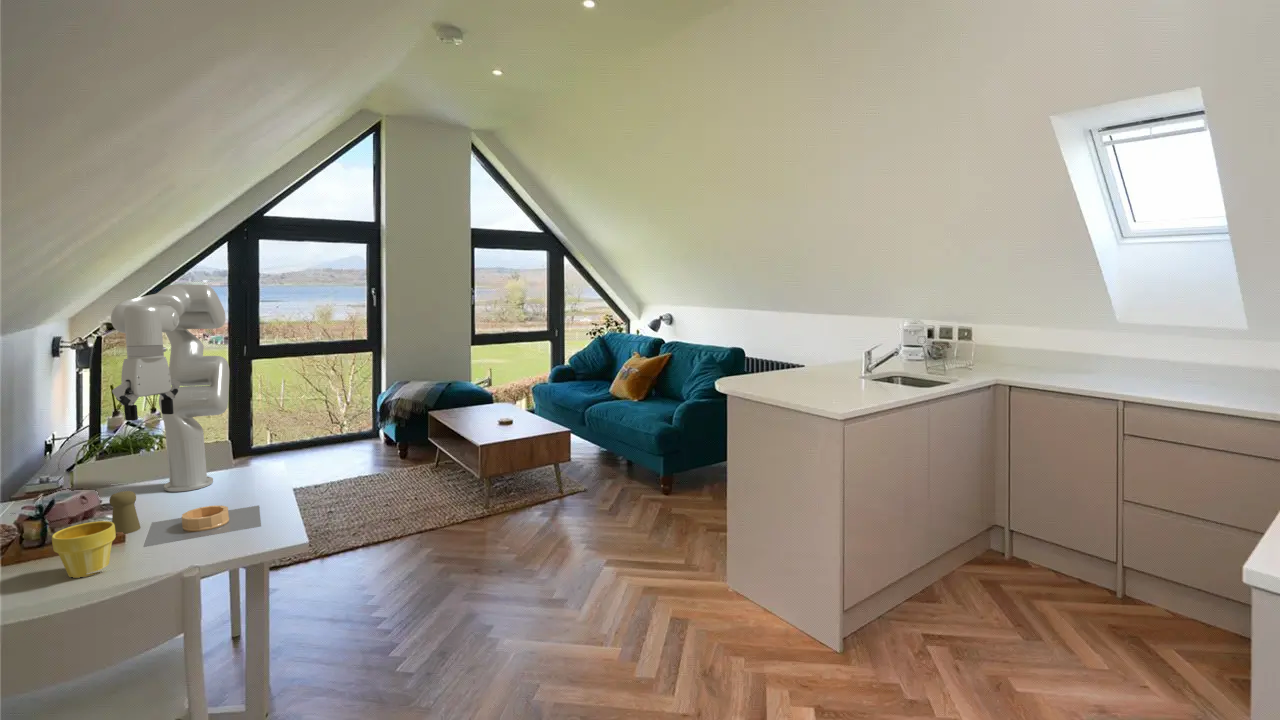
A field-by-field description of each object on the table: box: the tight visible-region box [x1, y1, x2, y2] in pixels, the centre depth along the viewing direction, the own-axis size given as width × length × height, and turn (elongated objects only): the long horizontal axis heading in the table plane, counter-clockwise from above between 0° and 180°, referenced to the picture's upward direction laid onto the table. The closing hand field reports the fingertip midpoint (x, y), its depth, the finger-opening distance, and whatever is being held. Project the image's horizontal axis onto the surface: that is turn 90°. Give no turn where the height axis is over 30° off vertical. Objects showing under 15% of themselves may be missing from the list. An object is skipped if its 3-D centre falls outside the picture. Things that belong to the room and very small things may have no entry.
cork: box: [108, 490, 141, 535], centre depth 156 cm, size 6×6×11 cm
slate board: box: [143, 505, 262, 548], centre depth 161 cm, size 18×24×1 cm
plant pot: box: [51, 520, 117, 579], centre depth 136 cm, size 10×10×10 cm
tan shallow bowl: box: [181, 505, 229, 532], centre depth 161 cm, size 10×10×3 cm
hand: (150, 417), depth 162 cm, fingers open, 9 cm apart
